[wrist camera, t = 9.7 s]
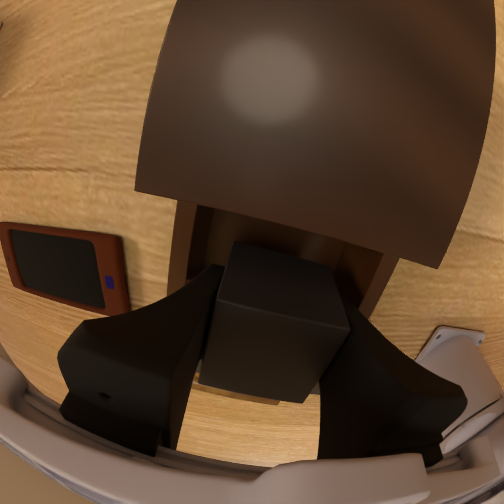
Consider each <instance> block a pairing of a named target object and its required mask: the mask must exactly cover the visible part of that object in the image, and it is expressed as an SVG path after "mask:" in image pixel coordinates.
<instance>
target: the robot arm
mask: <svg viewBox="0 0 504 504" xmlns="http://www.w3.org/2000/svg"><path fill="white" fill-rule="evenodd" d="M224 270H225V266H221V265H217V264H213V263H212V264H211V265H209V266H208V267H207V268H206V269H205V270H204V271H202V272H201V273H200V274H199V275H198V276H197V277H195V278H194V279H193V280H191V281H190V282H189V283H187V284H186V285H185V286H183V287H181V288H180V289H178V290H177V291H175V292H174V293H172V294H170V295H169V296H167V297H165V298H163V299H161V300H159V301H157V302H155V303H153V304H150V305H147V306H145V307H142V308H139V309H137V310H134V311H130V312H127V313H123V314H119V315H115V316H110V317H104V318H97V319H90V320H84V321H83V322H82V323H81V324H80V325H79V326H78V327H77V328H76V329H75V330H74V331H73V333H72V334H71V335H70V337H69V338H68V339H67V341H66V342H65V343H64V345H63V346H62V347H61V349H60V350H59V351H58V356H57V359H58V364H59V367H60V370H61V373H62V375H63V378H64V380H65V382H66V385H67V387H68V389H69V392H68V394H67V396H66V398H65V399H64V401H63V403H62V404H59V403H57V402H56V401H54V400H52V399H50V398H49V397H47V396H45V395H43V394H42V393H40V392H38V391H37V390H35V389H34V388H32V387H31V386H29V384H28V382H27V379H26V377H25V376H24V374H23V373H22V372H21V371H20V370H19V369H18V368H17V367H16V366H14V365H13V364H11V363H10V362H8V361H7V360H6V359H4V358H3V357H2V356H0V443H1V444H3V445H4V446H5V447H6V448H8V449H9V450H10V451H12V452H13V453H14V454H16V455H17V456H18V457H20V458H21V459H22V460H24V461H25V462H26V463H28V464H29V465H31V466H32V467H34V468H35V469H36V470H38V471H39V472H41V473H43V474H44V475H46V476H47V477H49V478H51V479H52V480H54V481H55V482H57V483H59V484H60V485H62V486H64V487H66V488H67V489H69V490H71V491H73V492H75V493H77V494H78V495H80V496H82V497H84V498H86V499H88V500H90V501H92V502H94V503H97V504H504V481H503V480H504V392H503V390H502V388H501V386H500V384H499V383H498V381H497V379H496V377H495V376H494V374H493V372H492V370H491V369H490V367H489V366H488V364H487V362H486V361H485V359H484V357H483V356H482V354H481V353H480V351H479V350H478V347H479V346H480V344H481V343H482V342H483V340H484V339H485V337H486V334H485V333H484V332H479V331H472V330H465V329H459V328H452V327H446V326H440V327H438V328H437V329H436V331H435V332H434V334H433V335H432V337H431V338H430V340H429V341H428V343H427V344H426V345H425V347H424V348H423V350H422V351H421V352H420V354H419V355H418V357H417V358H416V359H415V361H414V360H412V359H411V358H409V357H408V356H407V355H405V354H404V353H403V352H401V351H400V350H399V349H398V348H397V347H395V346H394V345H393V344H392V343H391V342H390V341H389V340H387V339H386V338H385V337H384V336H383V335H382V334H381V333H380V332H379V331H378V330H377V329H376V328H375V327H374V326H373V325H372V324H371V323H370V322H369V321H368V320H367V318H366V317H365V316H364V315H363V314H362V313H361V312H360V311H359V310H358V309H357V308H356V306H355V305H354V304H353V303H352V302H351V301H350V300H349V299H348V298H347V297H346V296H345V295H343V294H341V293H339V295H340V298H341V300H342V303H343V306H344V309H345V312H346V315H347V318H348V322H349V325H350V328H351V330H350V332H349V334H348V336H347V337H346V339H345V341H344V342H343V344H342V346H341V347H340V349H339V351H338V352H337V354H336V355H335V357H334V358H333V360H332V362H331V363H330V365H329V366H328V368H327V369H326V371H325V372H324V374H323V375H322V377H321V378H320V380H319V388H320V435H319V447H318V456H317V460H300V461H295V462H290V463H285V464H279V465H277V466H275V467H273V468H272V467H262V466H253V465H245V464H238V463H232V462H226V461H220V460H215V459H210V458H205V457H201V456H196V455H192V454H188V453H184V452H180V451H176V447H177V443H178V439H179V434H180V430H181V426H182V422H183V418H184V414H185V410H186V406H187V402H188V398H189V394H190V390H191V386H192V383H193V379H194V375H195V372H196V369H197V366H198V363H199V361H200V358H201V356H202V353H203V351H204V348H205V344H206V340H207V335H208V330H209V326H210V321H211V317H212V312H213V308H214V303H215V299H216V296H217V293H218V289H219V286H220V283H221V280H222V276H223V273H224ZM501 481H502V482H501ZM500 482H501V483H500ZM498 483H499V484H498ZM495 485H496V486H495ZM492 487H493V488H492ZM490 488H491V489H490ZM489 489H490V490H489ZM487 490H488V491H487ZM484 492H485V493H484ZM482 493H483V494H482ZM480 494H481V495H480Z"/></svg>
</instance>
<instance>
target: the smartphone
mask: <svg viewBox="0 0 504 504" xmlns="http://www.w3.org/2000/svg"><path fill="white" fill-rule="evenodd" d="M0 241H1V245H2V249H3V253H4V257H5V261H6V264H7V268H8V271H9V275H10V278H11V281H12V284H13V286H14V287H16V288H18V289H21V290H23V291H26V292H29V293H31V294H34V295H37V296H40V297H44V298H47V299H50V300H53V301H56V302H59V303H63V304H66V305H70V306H73V307H76V308H80V309H84V310H87V311H91V312H95V313H99V314H102V315H107V316H115V315H119V314H123V313H127V312H130V307H129V302H128V296H127V289H126V283H125V276H124V268H123V260H122V252H121V243H120V239H119V238H118V237H117V236H114V235H108V234H101V233H94V232H86V231H78V230H70V229H61V228H53V227H45V226H36V225H28V224H20V223H11V222H0Z"/></svg>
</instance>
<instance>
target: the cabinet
mask: <svg viewBox="0 0 504 504" xmlns="http://www.w3.org/2000/svg"><path fill="white" fill-rule="evenodd" d="M495 57H496V23H495V8H494V0H177V2H176V5H175V7H174V10H173V13H172V16H171V19H170V22H169V25H168V28H167V31H166V34H165V37H164V41H163V44H162V47H161V51H160V54H159V58H158V62H157V66H156V69H155V73H154V77H153V82H152V86H151V90H150V95H149V99H148V104H147V109H146V114H145V119H144V125H143V130H142V136H141V143H140V149H139V156H138V164H137V171H136V180H135V189H134V190H135V191H137V192H142V193H147V194H151V195H156V196H161V197H166V198H170V199H175V200H179V201H184V202H188V203H193V204H197V205H202V206H206V207H210V208H215V209H219V210H223V211H227V212H232V213H236V214H240V215H244V216H248V217H252V218H256V219H260V220H264V221H268V222H272V223H276V224H280V225H284V226H288V227H292V228H295V229H299V230H303V231H307V232H311V233H314V234H318V235H322V236H325V237H329V238H333V239H336V240H340V241H344V242H347V243H351V244H354V245H358V246H361V247H365V248H368V249H372V250H375V251H379V252H382V253H385V254H389V255H392V256H396V257H399V258H402V259H406V260H409V261H412V262H415V263H419V264H422V265H425V266H428V267H431V268H435V269H438V268H439V266H440V264H441V261H442V259H443V257H444V255H445V253H446V251H447V248H448V246H449V244H450V242H451V239H452V237H453V235H454V232H455V230H456V227H457V225H458V222H459V220H460V217H461V215H462V212H463V209H464V207H465V204H466V201H467V198H468V195H469V192H470V189H471V186H472V183H473V180H474V177H475V173H476V170H477V166H478V163H479V159H480V155H481V151H482V147H483V143H484V139H485V134H486V129H487V124H488V119H489V113H490V107H491V100H492V93H493V84H494V73H495Z"/></svg>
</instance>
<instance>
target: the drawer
mask: <svg viewBox="0 0 504 504" xmlns="http://www.w3.org/2000/svg"><path fill="white" fill-rule="evenodd" d="M234 241H237V242H241V243H245V244H249V245H252V246H256V247H260V248H264V249H268V250H271V251H275V252H279V253H283V254H287V255H290V256H294V257H298V258H302V259H306V260H309V261H313V262H317V263H321V264H324V265H328V266H329V267H330V269H331V272H332V275H333V278H334V280H335V283H336V286H337V289H338V292H339V293H341V294H343V295H345V296H346V297H347V298H348V299H349V300H350V301H351V302H352V303H353V304H354V305H355V306H356V308H357V309H358V310H359V311H360V312H361V313H362V314H363V315H364V316H365V317H366V318H367V320H368V319H369V317H370V315H371V314H372V312H373V310H374V308H375V306H376V304H377V303H378V301H379V299H380V297H381V295H382V293H383V291H384V289H385V287H386V285H387V283H388V281H389V279H390V277H391V275H392V273H393V271H394V269H395V267H396V264H397V262H398V260H399V257H396V256H392V255H389V254H385V253H382V252H379V251H375V250H372V249H368V248H365V247H361V246H358V245H354V244H351V243H347V242H344V241H340V240H336V239H333V238H329V237H325V236H322V235H318V234H314V233H311V232H307V231H303V230H299V229H295V228H292V227H288V226H284V225H280V224H276V223H272V222H268V221H264V220H260V219H256V218H252V217H248V216H244V215H240V214H236V213H232V212H227V211H223V210H219V209H215V208H210V207H206V206H202V205H197V204H193V203H188V202H184V201H179V200H177V207H176V214H175V221H174V229H173V237H172V246H171V255H170V264H169V275H168V286H167V296H169V295H170V294H172V293H174V292H175V291H177V290H178V289H180V288H181V287H183V286H185V285H186V284H187V283H189V282H190V281H191V280H193V279H194V278H195V277H197V276H198V275H199V274H200V273H201V272H202V271H204V270H205V269H206V268H207V267H208V266H209V265H211V264H212V263H213V264H217V265H221V266H225V267H226V264H227V261H228V257H229V254H230V251H231V248H232V245H233V242H234ZM204 349H205V348H204ZM203 354H204V351H203V353H202V356H201V358H200V361H199V363H198V366H197V369H196V372H195V375H194V379H193V383H192V386H191V388H192V389H196V390H199V391H203V392H208V393H212V394H216V395H221V396H225V397H230V398H235V399H240V400H245V401H251V402H257V403H263V404H269V405H278V404H279V402H280V401H279V400H273V399H267V398H261V397H256V396H250V395H245V394H240V393H235V392H231V391H226V390H222V389H218V388H213V387H209V386H205V385H201V384H199V383H198V378H199V373H200V368H201V363H202V358H203ZM310 394H317V395H320V388H319V381H318V383H317V384H316V385H315V387H314V388H313V390H312V391H311V393H310Z"/></svg>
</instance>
